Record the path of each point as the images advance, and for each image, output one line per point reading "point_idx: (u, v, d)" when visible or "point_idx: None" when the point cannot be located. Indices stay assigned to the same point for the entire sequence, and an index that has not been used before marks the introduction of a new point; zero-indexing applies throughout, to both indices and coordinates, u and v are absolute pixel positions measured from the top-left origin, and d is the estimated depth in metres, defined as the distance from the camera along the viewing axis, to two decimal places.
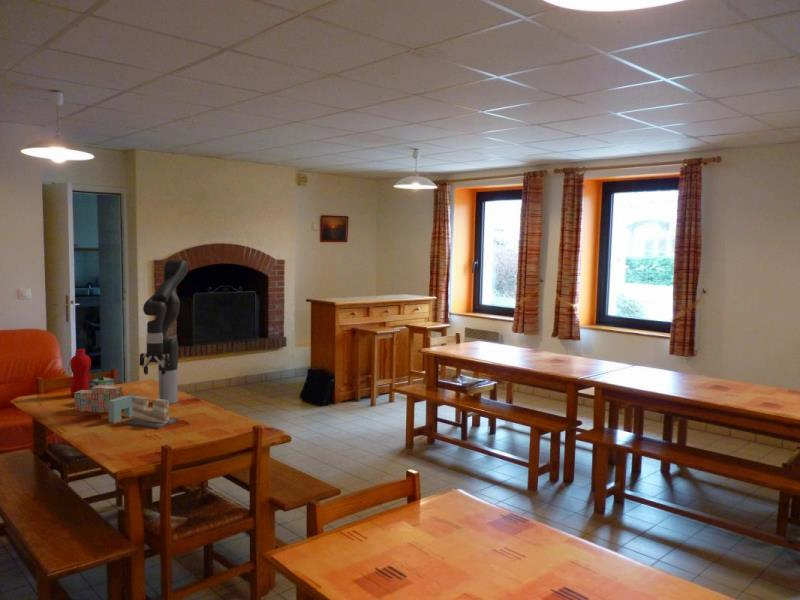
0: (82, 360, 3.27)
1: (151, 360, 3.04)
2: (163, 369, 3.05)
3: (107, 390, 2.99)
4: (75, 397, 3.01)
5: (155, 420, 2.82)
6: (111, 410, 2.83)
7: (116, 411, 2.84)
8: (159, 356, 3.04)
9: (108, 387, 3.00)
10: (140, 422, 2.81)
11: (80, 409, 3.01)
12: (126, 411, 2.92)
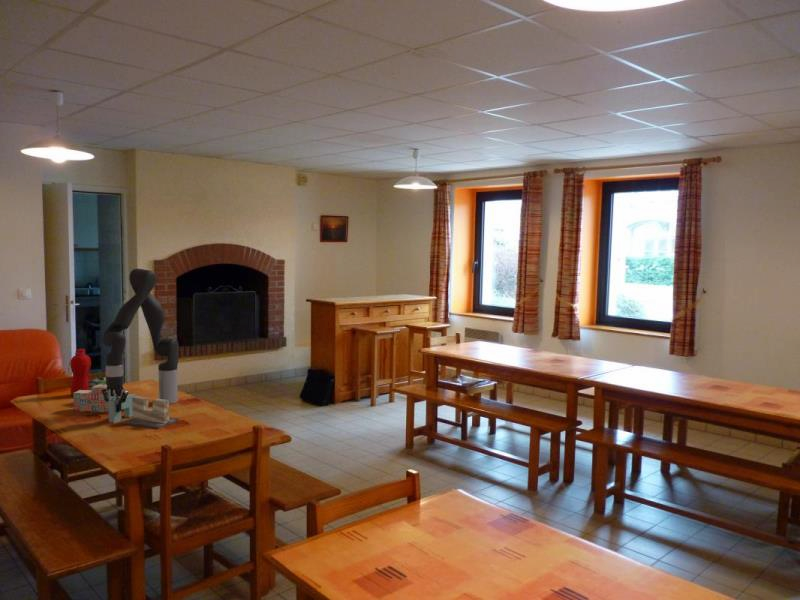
0: (82, 360, 3.27)
1: None
2: None
3: None
4: (74, 397, 3.00)
5: (155, 420, 2.82)
6: (111, 410, 2.83)
7: None
8: None
9: None
10: (140, 422, 2.81)
11: (79, 409, 3.01)
12: (126, 411, 2.92)
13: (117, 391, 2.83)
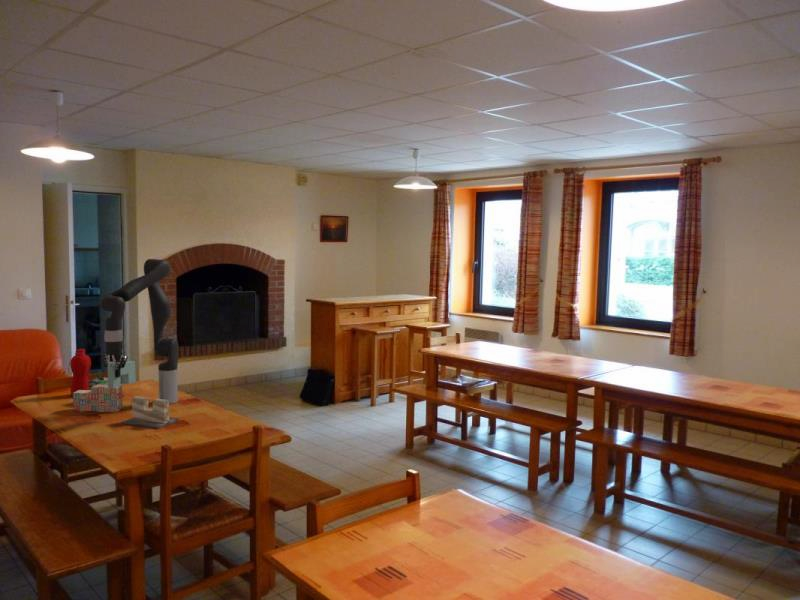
0: (82, 360, 3.27)
1: None
2: None
3: (108, 389, 3.00)
4: (74, 397, 3.00)
5: (155, 420, 2.82)
6: (110, 375, 2.82)
7: None
8: None
9: None
10: (140, 422, 2.81)
11: (79, 409, 3.01)
12: (126, 377, 2.91)
13: (116, 356, 2.81)
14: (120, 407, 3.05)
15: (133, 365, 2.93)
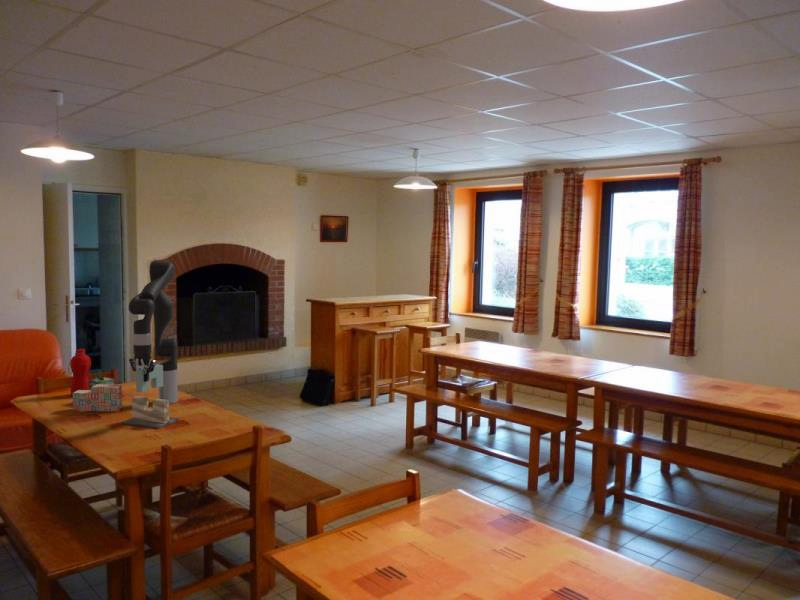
0: (82, 360, 3.27)
1: None
2: None
3: (108, 389, 3.01)
4: (74, 397, 3.00)
5: (155, 420, 2.82)
6: (139, 380, 2.77)
7: None
8: None
9: (108, 386, 3.02)
10: (140, 422, 2.81)
11: (79, 409, 3.01)
12: (153, 381, 2.86)
13: (145, 360, 2.76)
14: (120, 407, 3.06)
15: (161, 369, 2.88)
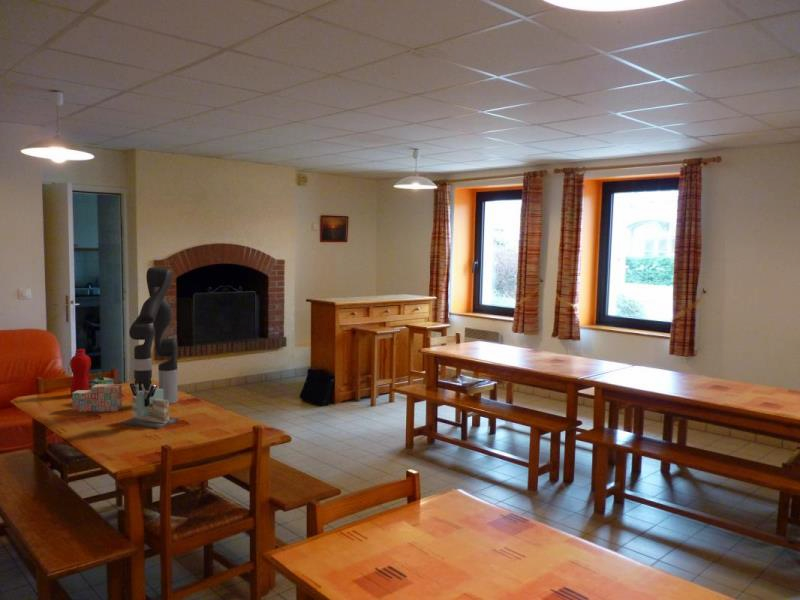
0: (82, 360, 3.27)
1: None
2: None
3: (108, 389, 3.01)
4: (73, 397, 3.00)
5: (155, 420, 2.82)
6: (139, 404, 2.77)
7: None
8: None
9: (108, 386, 3.02)
10: (140, 422, 2.81)
11: (78, 409, 3.01)
12: None
13: (145, 385, 2.77)
14: (120, 406, 3.06)
15: (161, 393, 2.89)
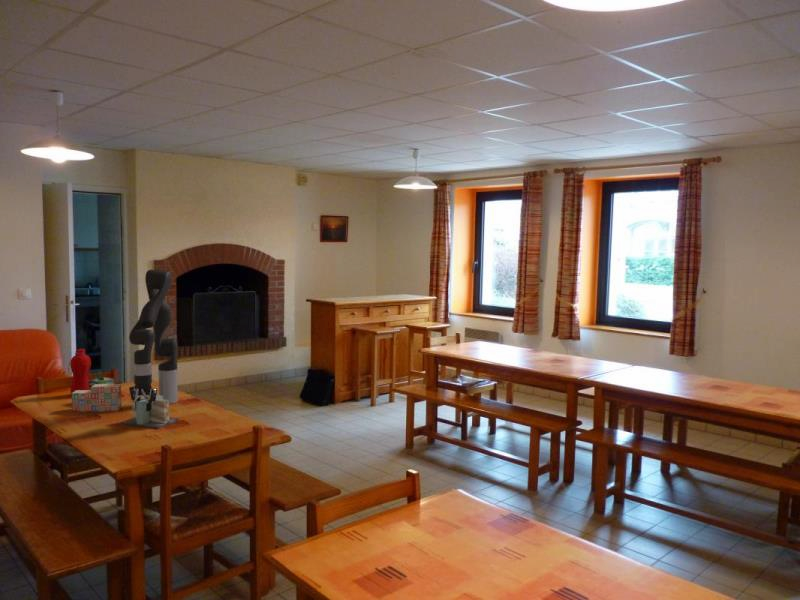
0: (82, 360, 3.27)
1: None
2: None
3: (108, 389, 3.01)
4: (73, 397, 3.00)
5: (155, 420, 2.82)
6: (139, 412, 2.78)
7: (144, 413, 2.79)
8: None
9: (108, 386, 3.03)
10: None
11: (78, 409, 3.01)
12: None
13: (145, 389, 2.77)
14: (120, 406, 3.07)
15: None
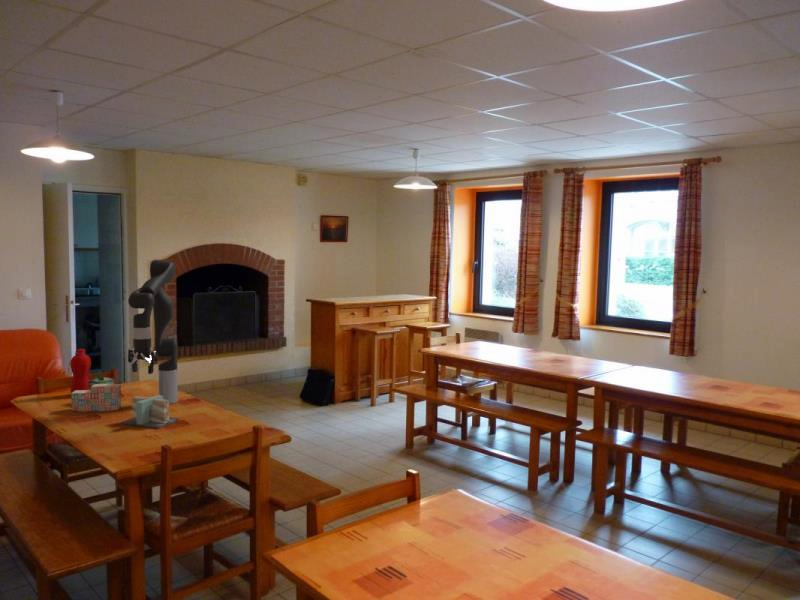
0: (82, 360, 3.27)
1: None
2: None
3: (108, 388, 3.02)
4: (72, 397, 3.00)
5: (155, 420, 2.82)
6: (139, 412, 2.78)
7: (144, 413, 2.79)
8: None
9: (108, 385, 3.03)
10: None
11: (78, 409, 3.01)
12: None
13: (145, 353, 2.76)
14: (119, 406, 3.08)
15: None
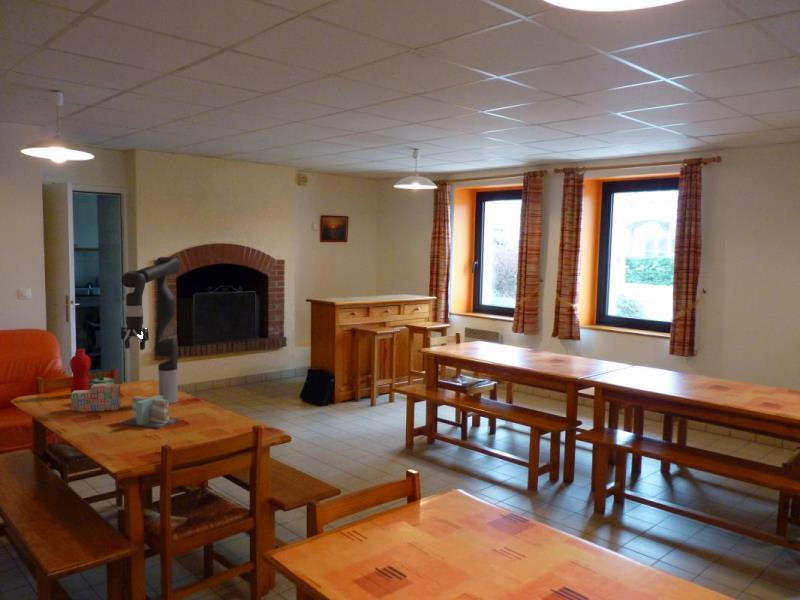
0: (82, 360, 3.27)
1: None
2: None
3: (108, 388, 3.03)
4: (72, 397, 2.99)
5: (155, 420, 2.82)
6: (139, 412, 2.78)
7: (144, 413, 2.79)
8: None
9: (108, 385, 3.04)
10: None
11: (77, 409, 3.00)
12: None
13: (137, 330, 2.90)
14: (119, 405, 3.08)
15: None
